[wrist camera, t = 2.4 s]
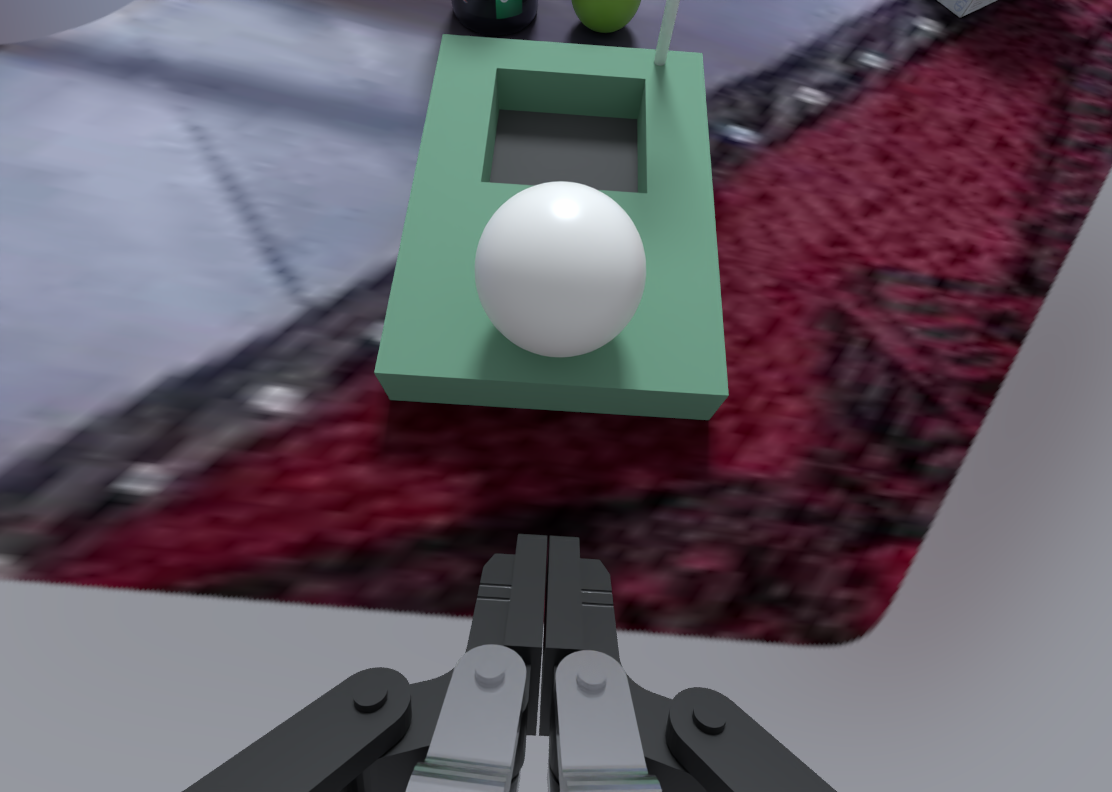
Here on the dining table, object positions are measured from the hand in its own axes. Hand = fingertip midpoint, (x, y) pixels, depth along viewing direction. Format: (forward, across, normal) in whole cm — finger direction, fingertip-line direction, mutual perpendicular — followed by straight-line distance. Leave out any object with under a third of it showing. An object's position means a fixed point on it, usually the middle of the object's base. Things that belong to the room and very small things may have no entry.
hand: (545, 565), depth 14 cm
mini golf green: (+27, 0, -6) cm, 28 cm away
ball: (+15, 0, -5) cm, 16 cm away
